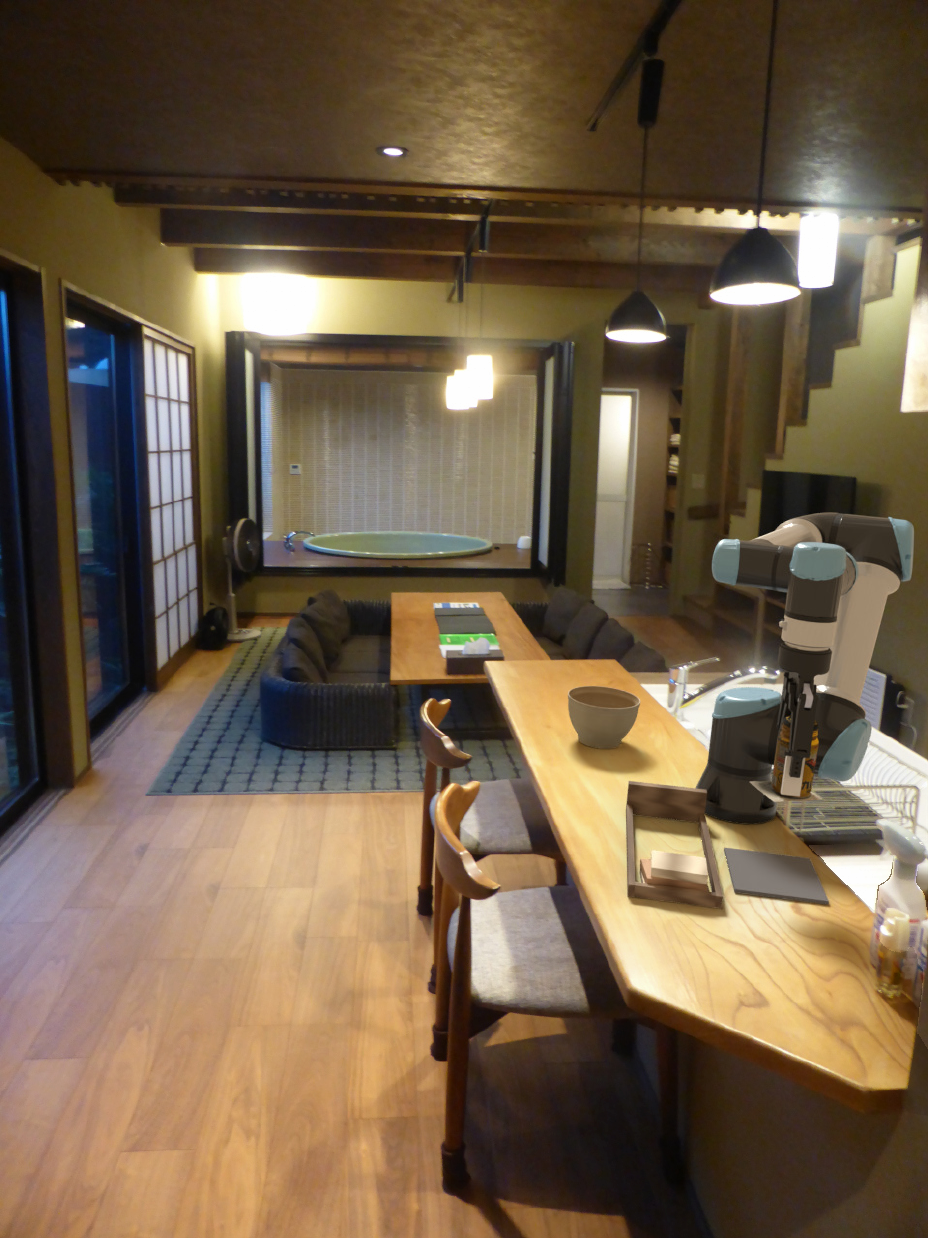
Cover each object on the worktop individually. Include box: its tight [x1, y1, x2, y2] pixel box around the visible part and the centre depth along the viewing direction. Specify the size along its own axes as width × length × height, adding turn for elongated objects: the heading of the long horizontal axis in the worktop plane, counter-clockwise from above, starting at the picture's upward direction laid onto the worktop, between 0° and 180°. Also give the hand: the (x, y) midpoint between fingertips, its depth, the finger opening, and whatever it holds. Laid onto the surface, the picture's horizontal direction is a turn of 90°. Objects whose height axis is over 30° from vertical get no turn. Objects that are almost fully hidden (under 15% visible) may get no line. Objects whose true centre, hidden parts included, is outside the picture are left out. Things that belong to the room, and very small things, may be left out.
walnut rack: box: [625, 780, 724, 909], centre depth 147 cm, size 14×31×6 cm, turn 170°
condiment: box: [750, 716, 823, 803], centre depth 138 cm, size 7×8×12 cm
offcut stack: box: [638, 849, 711, 892], centre depth 137 cm, size 10×7×5 cm
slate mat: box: [723, 846, 830, 906], centre depth 142 cm, size 14×14×1 cm
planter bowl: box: [567, 685, 641, 750], centre depth 198 cm, size 16×16×11 cm
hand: (786, 785), depth 139 cm, fingers closed on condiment, 6 cm apart
